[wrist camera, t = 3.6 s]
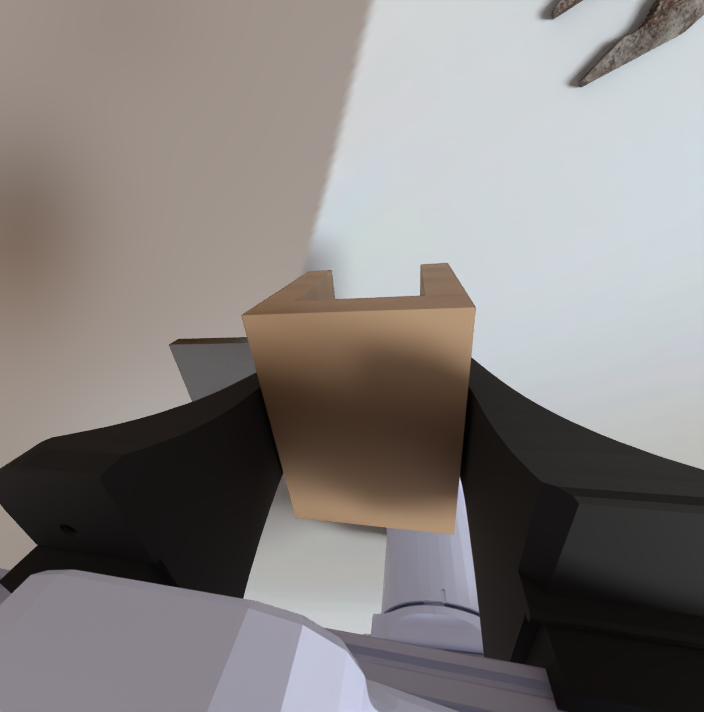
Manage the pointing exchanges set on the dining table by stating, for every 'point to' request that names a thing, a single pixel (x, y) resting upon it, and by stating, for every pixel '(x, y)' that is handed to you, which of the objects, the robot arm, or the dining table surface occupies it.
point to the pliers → (643, 32)
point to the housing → (367, 398)
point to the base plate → (212, 364)
